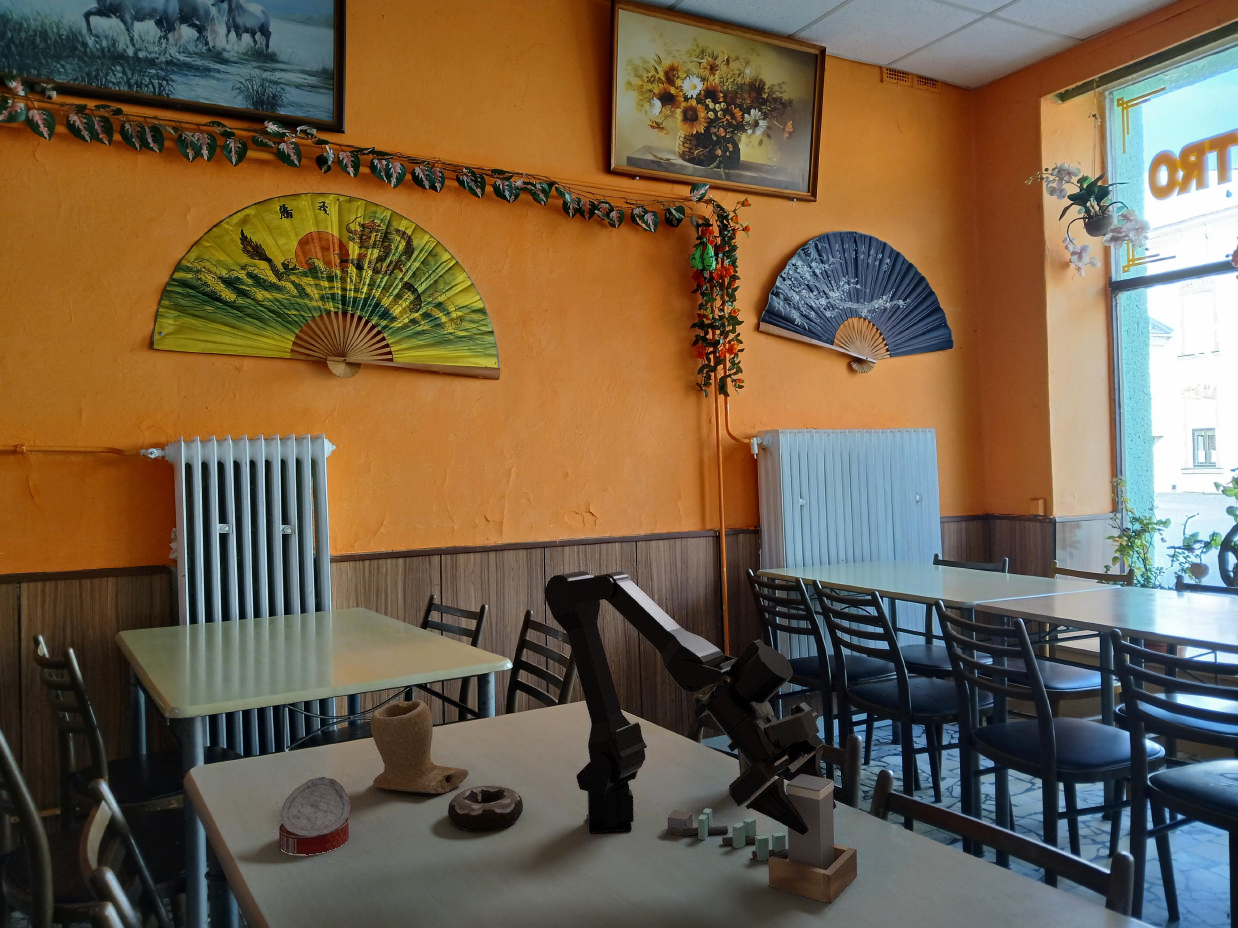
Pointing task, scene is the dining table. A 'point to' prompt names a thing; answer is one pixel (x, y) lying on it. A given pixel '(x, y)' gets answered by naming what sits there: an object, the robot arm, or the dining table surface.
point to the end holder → (815, 875)
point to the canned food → (315, 817)
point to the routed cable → (730, 839)
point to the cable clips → (741, 832)
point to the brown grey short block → (679, 822)
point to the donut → (485, 808)
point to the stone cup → (410, 750)
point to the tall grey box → (812, 821)
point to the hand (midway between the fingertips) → (820, 820)
